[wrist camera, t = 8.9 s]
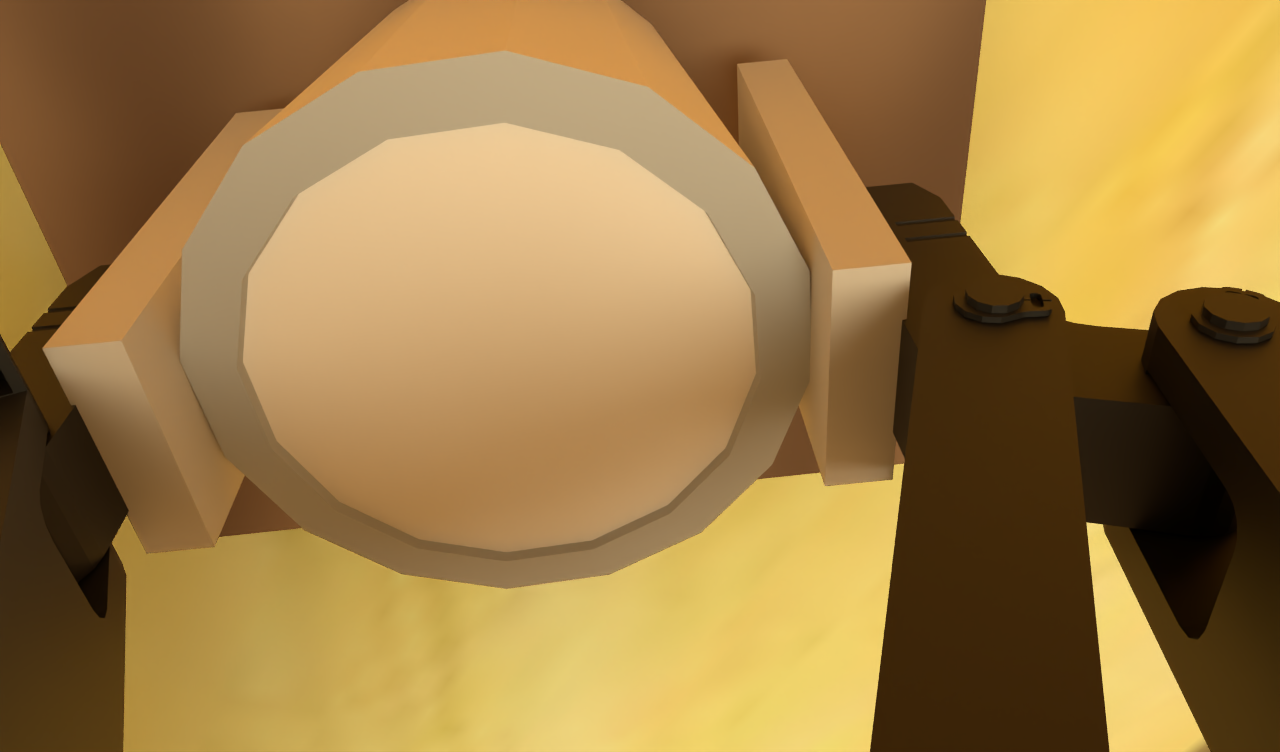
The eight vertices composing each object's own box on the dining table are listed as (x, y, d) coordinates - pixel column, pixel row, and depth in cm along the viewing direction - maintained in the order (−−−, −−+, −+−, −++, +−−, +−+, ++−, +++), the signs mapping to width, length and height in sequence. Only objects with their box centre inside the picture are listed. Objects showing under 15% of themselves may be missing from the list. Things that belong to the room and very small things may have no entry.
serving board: (207, 493, 22) (187, 540, 21) (-190, -413, 13) (-269, -426, 12) (911, 418, 22) (932, 460, 21) (1003, -526, 13) (1049, -551, 12)
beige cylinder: (617, 365, 19) (644, 650, 13) (262, 230, 17) (110, 499, 11) (804, 41, 16) (946, 234, 10) (392, -176, 14) (271, -91, 8)
